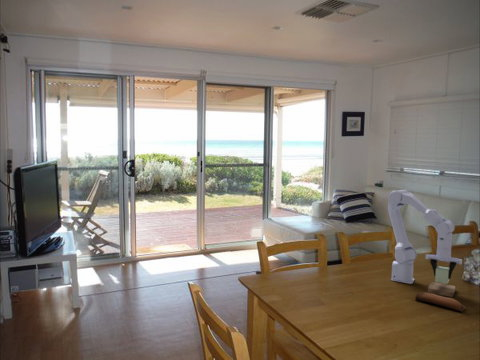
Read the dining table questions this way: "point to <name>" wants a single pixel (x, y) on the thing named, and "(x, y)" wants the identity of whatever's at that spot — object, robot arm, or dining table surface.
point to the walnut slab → (441, 289)
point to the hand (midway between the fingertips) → (442, 277)
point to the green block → (442, 275)
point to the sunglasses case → (440, 301)
